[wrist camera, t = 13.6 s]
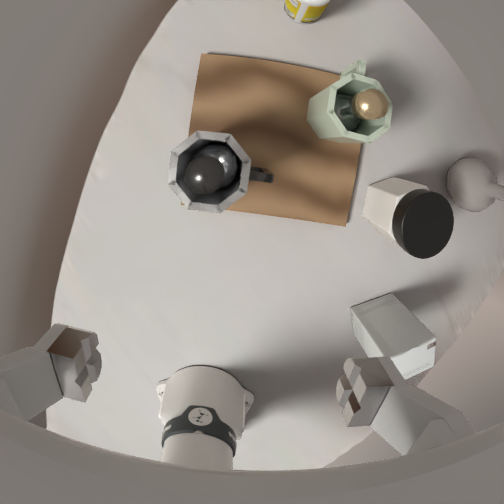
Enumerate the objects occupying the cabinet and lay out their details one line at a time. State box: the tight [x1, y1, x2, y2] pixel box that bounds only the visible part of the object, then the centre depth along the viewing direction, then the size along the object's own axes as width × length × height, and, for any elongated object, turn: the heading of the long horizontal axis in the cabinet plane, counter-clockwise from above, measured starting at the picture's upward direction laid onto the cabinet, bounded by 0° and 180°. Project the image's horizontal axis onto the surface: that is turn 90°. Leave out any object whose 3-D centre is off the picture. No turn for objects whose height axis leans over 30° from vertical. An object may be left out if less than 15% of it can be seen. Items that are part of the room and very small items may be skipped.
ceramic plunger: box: [334, 89, 388, 131], centre depth 29 cm, size 5×5×10 cm
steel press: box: [168, 131, 274, 213], centre depth 32 cm, size 7×10×13 cm
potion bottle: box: [446, 158, 504, 212], centre depth 32 cm, size 9×9×18 cm
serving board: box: [181, 54, 361, 227], centre depth 38 cm, size 21×23×1 cm
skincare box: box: [350, 293, 436, 380], centre depth 41 cm, size 8×6×15 cm
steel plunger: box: [185, 146, 237, 195], centre depth 28 cm, size 5×5×11 cm
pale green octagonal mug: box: [306, 59, 393, 143], centre depth 31 cm, size 10×7×10 cm
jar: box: [362, 177, 454, 259], centre depth 36 cm, size 9×8×12 cm
